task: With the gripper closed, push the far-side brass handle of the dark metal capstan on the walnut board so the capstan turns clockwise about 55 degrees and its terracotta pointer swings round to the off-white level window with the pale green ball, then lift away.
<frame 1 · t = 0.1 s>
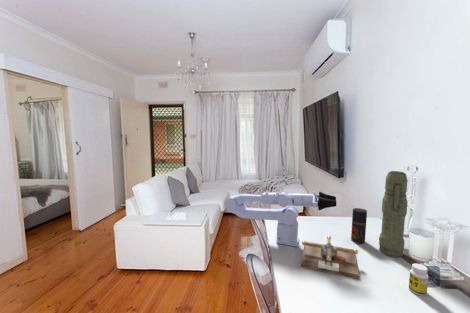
hand: (336, 201, 103), 22 cm above the table, tool horizontal, fingers open, 7 cm apart
stand board: (328, 259, 97), on the table
capstan: (328, 250, 97), point 4 cm above the table, hinge at 0.0°, touching stand board
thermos: (390, 252, 104), on the table
deodorant: (357, 241, 115), on the table
level window: (328, 270, 89), resting on stand board
supplement bottle: (417, 291, 78), on the table
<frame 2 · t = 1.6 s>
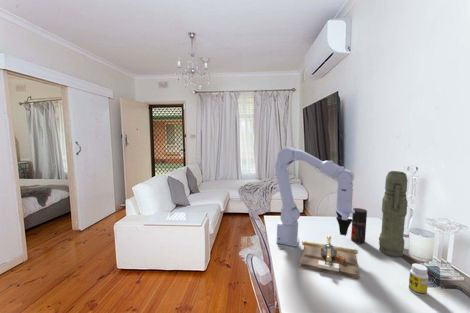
hand: (342, 231, 99), 10 cm above the table, tool pointing down, fingers open, 7 cm apart
nothing on the table moved.
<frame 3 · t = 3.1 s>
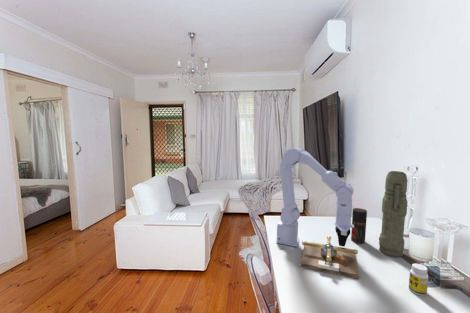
hand: (341, 245, 100), 4 cm above the table, tool pointing down, fingers closed
nothing on the table moved.
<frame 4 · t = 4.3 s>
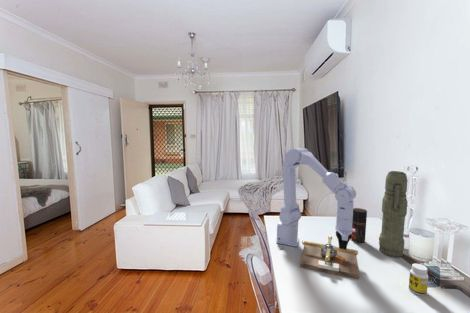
hand: (342, 250, 95), 4 cm above the table, tool pointing down, fingers closed, pressing on capstan
capstan: (328, 250, 97), point 4 cm above the table, hinge at -2.7°, touching gripper, stand board
everything else where it was.
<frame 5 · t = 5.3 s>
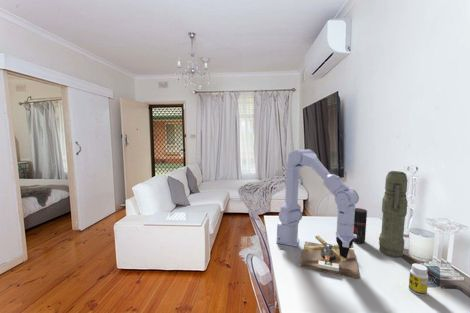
hand: (343, 257, 90), 4 cm above the table, tool pointing down, fingers closed, pressing on capstan
capstan: (328, 250, 97), point 4 cm above the table, hinge at -60.3°, touching gripper
everything else where it was.
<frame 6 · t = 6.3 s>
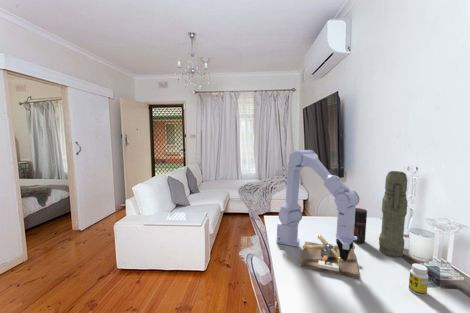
hand: (343, 259, 88), 4 cm above the table, tool pointing down, fingers closed, pressing on capstan
capstan: (328, 250, 97), point 4 cm above the table, hinge at -67.1°, touching gripper, stand board
everything else where it was.
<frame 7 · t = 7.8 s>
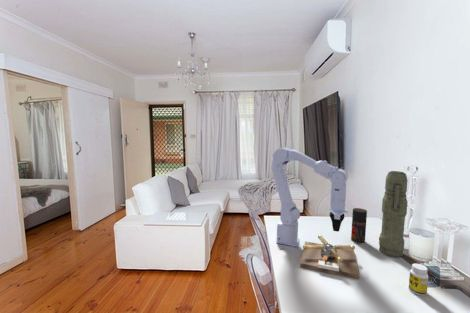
hand: (335, 230, 100), 10 cm above the table, tool pointing down, fingers closed
capstan: (328, 250, 97), point 4 cm above the table, hinge at -67.6°, touching stand board
everything else where it was.
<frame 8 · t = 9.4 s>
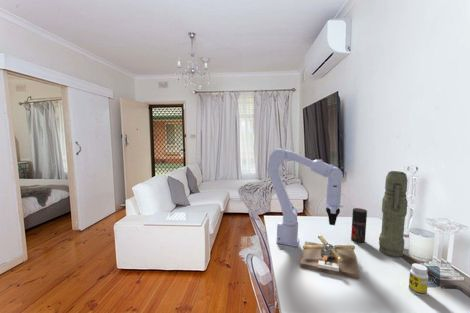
hand: (332, 224, 107), 10 cm above the table, tool pointing down, fingers closed
nothing on the table moved.
at the end: capstan at -68° (first picture: +0°) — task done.
